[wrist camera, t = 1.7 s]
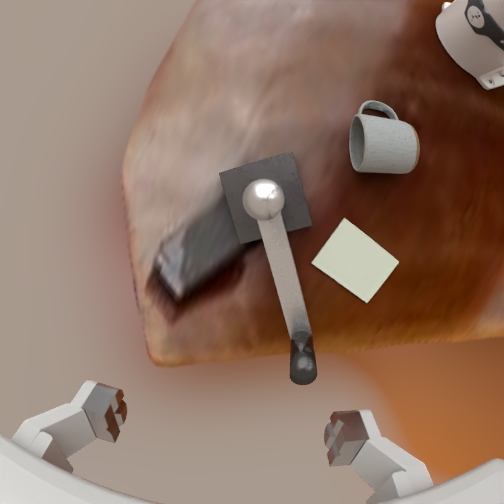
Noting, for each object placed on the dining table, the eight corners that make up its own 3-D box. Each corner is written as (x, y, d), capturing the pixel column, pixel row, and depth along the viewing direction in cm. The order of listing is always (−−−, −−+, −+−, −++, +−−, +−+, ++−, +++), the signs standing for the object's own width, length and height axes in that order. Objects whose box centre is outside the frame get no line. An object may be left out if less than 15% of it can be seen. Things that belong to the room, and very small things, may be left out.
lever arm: (241, 185, 36) (224, 186, 27) (278, 174, 35) (274, 171, 26) (288, 347, 41) (286, 390, 31) (320, 340, 40) (326, 382, 30)
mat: (311, 262, 40) (311, 263, 40) (344, 217, 38) (344, 218, 38) (366, 302, 41) (367, 303, 40) (398, 261, 39) (399, 261, 38)
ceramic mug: (402, 175, 36) (425, 173, 28) (350, 173, 37) (364, 169, 29) (397, 106, 33) (417, 91, 26) (345, 101, 34) (356, 84, 27)
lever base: (223, 173, 39) (218, 173, 37) (291, 153, 37) (291, 151, 35) (243, 240, 41) (240, 244, 39) (310, 222, 39) (312, 225, 37)
